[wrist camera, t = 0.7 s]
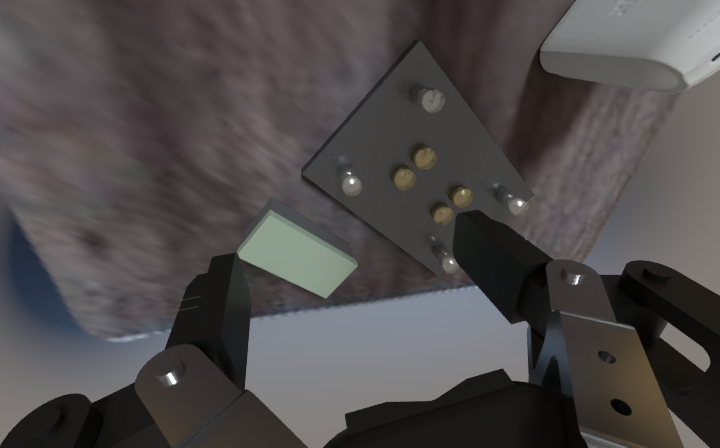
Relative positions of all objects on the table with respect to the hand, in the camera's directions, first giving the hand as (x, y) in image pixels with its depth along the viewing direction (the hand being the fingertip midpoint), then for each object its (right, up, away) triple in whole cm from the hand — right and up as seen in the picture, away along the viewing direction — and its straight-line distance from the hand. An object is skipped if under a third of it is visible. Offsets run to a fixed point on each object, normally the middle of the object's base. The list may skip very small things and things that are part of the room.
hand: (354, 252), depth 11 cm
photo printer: (+19, +19, +15) cm, 31 cm away
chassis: (+7, +5, +20) cm, 22 cm away
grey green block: (-6, 0, +21) cm, 21 cm away
